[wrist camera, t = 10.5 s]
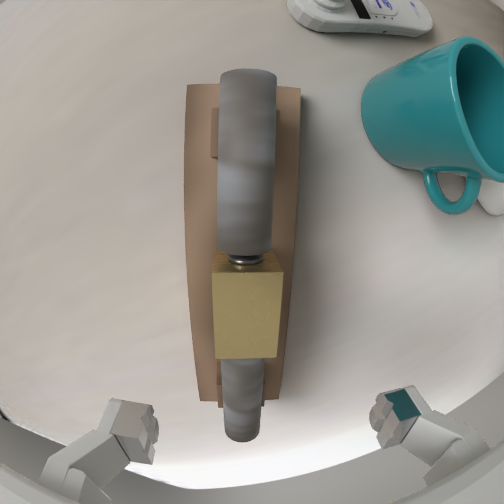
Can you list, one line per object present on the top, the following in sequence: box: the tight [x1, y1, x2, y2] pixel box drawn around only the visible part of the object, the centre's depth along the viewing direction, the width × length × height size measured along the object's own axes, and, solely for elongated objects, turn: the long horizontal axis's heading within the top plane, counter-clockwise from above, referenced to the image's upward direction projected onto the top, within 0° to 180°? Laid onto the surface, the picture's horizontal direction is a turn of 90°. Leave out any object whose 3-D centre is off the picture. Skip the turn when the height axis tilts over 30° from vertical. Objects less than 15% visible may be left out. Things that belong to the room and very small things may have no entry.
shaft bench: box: [184, 69, 301, 442], centre depth 19 cm, size 8×28×8 cm, turn 178°
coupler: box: [212, 249, 284, 359], centre depth 17 cm, size 4×6×4 cm, turn 179°
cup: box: [361, 36, 504, 215], centre depth 15 cm, size 9×12×11 cm
